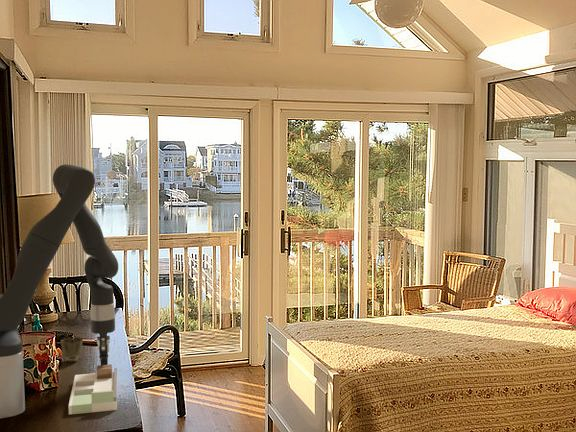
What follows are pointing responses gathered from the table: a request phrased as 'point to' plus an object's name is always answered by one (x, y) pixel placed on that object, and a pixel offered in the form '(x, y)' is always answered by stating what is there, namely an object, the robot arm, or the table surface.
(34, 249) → the robot arm
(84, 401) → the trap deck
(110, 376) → the walnut block
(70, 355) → the cup
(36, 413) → the table surface
